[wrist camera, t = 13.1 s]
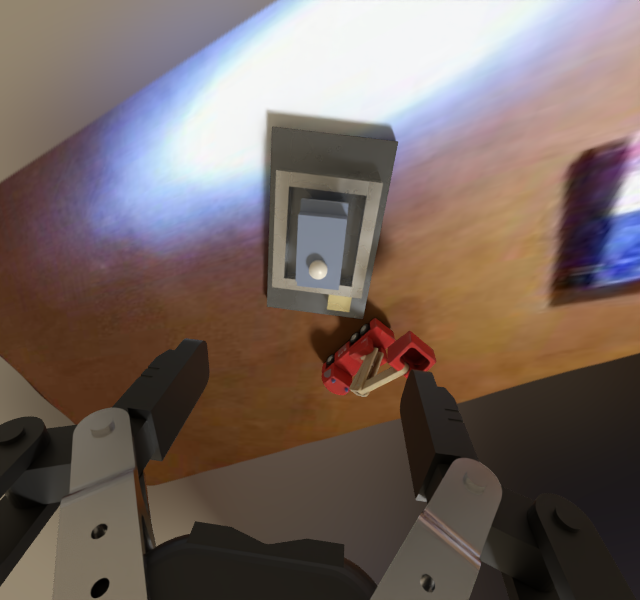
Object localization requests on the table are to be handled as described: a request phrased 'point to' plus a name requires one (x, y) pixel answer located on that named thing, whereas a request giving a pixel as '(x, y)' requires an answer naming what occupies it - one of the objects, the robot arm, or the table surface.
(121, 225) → the table surface
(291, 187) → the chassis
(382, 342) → the toy fire truck
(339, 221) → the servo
